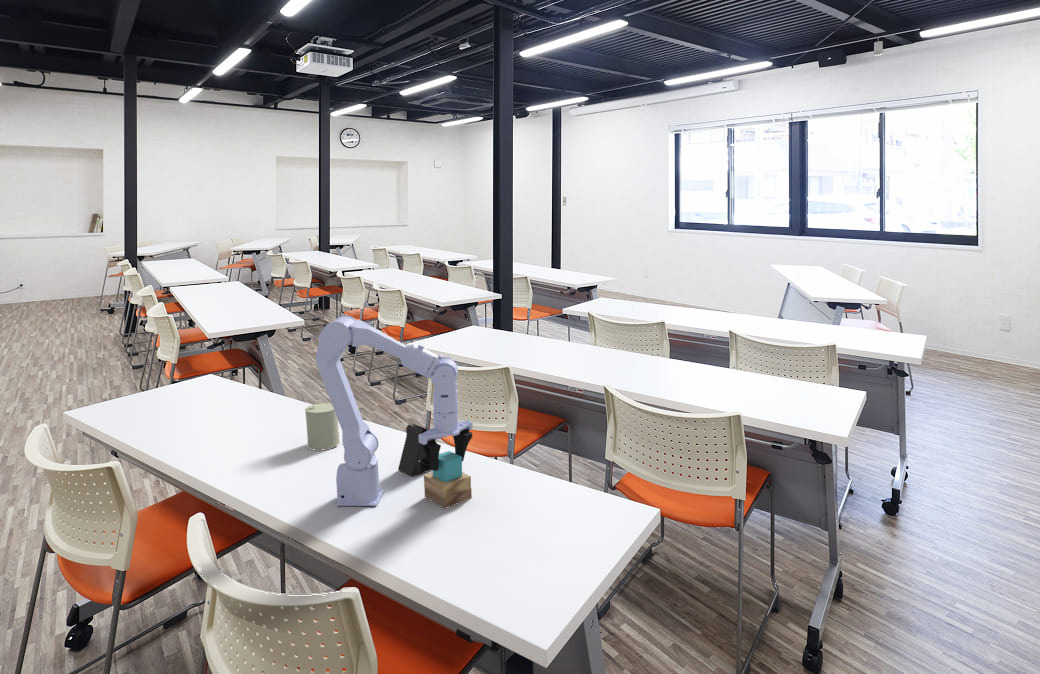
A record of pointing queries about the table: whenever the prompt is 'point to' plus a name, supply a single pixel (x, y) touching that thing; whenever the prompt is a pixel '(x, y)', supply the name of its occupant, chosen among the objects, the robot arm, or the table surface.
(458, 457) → the teal cube
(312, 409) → the can
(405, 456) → the phone stand
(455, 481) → the tower top
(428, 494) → the tower base
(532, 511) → the table surface
